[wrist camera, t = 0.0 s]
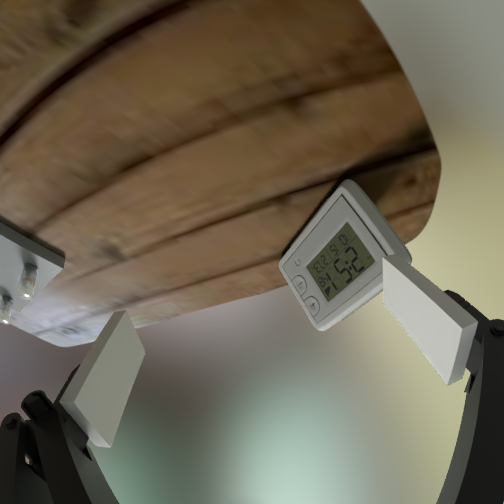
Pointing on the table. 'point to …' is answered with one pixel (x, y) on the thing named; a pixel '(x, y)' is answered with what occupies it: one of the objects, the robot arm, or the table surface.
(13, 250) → the base plate
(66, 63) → the table surface
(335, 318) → the digital clock
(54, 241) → the table surface
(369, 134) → the table surface
